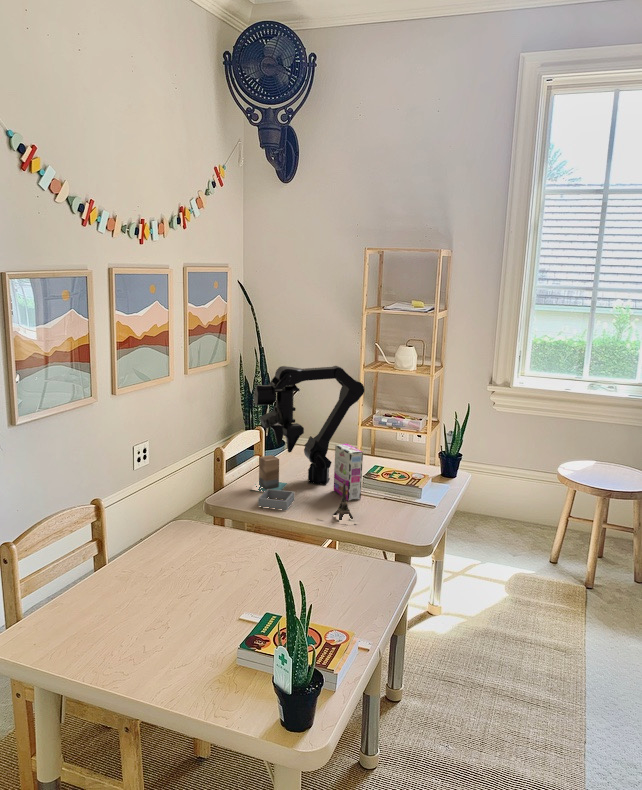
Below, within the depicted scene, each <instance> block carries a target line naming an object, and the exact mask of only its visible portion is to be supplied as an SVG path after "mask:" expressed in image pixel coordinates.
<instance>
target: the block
mask: <svg viewBox="0 0 642 790" xmlns="http://www.w3.org/2000/svg"><path fill="white" fill-rule="evenodd" d="M258 481H259V485H260V486H261V487H263V488H264V489H271V488H277V487H279V482H280V458H278V457H276V456H275V455H273V454H272V455H263V456H259V457H258Z"/></svg>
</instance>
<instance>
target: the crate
mask: <svg viewBox="0 0 642 790" xmlns="http://www.w3.org/2000/svg"><path fill="white" fill-rule="evenodd" d="M295 495H296V493H295V491H292V490H291V491H290V490H284V489H282V490H274V489H267V490H266V491H265V492H262V494H261V495H260V496H259V497H258V500H257V501H258V502H257V503H258V504H257V505H258V506H261V507H269V508H275V509H282V510H281V511H284V510H287V511H288V509H289V508H290V507H291V506H292V504H293V503H294V502H295ZM268 497H269V498H268ZM267 498H268V499H267ZM270 498H277V499H270ZM279 499H283V500H279ZM293 501H294V502H293ZM292 502H293V503H292ZM290 505H291V506H290ZM258 506H257V507H258ZM289 506H290V507H289ZM288 507H289V508H288ZM275 509H274V510H275Z"/></svg>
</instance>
